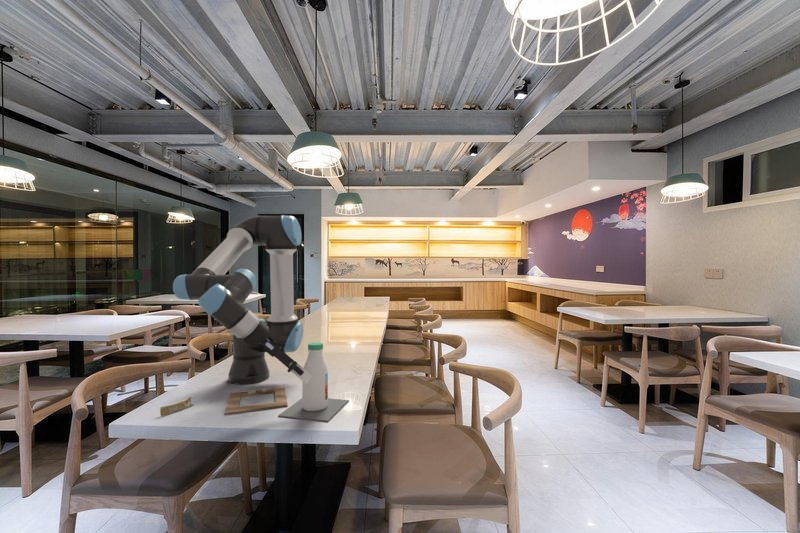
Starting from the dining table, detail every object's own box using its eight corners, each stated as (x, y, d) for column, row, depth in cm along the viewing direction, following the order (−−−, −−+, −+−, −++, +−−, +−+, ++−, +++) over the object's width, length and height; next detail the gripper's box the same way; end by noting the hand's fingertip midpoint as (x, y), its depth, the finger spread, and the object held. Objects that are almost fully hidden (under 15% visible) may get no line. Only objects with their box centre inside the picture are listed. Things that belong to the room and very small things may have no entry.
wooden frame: (230, 394, 123) (230, 392, 123) (284, 388, 130) (284, 386, 130) (224, 414, 106) (224, 412, 107) (287, 406, 113) (287, 403, 113)
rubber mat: (304, 397, 121) (304, 396, 121) (348, 401, 117) (348, 400, 117) (278, 416, 105) (278, 415, 105) (328, 421, 101) (328, 420, 101)
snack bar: (161, 417, 105) (161, 407, 105) (158, 416, 106) (158, 406, 106) (193, 406, 114) (193, 397, 114) (190, 405, 114) (190, 396, 114)
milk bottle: (321, 413, 106) (322, 346, 107) (297, 411, 108) (298, 345, 108) (331, 403, 114) (331, 341, 114) (309, 401, 116) (309, 340, 116)
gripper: (233, 332, 110) (282, 373, 118) (247, 348, 89) (306, 396, 97) (252, 314, 113) (298, 355, 121) (269, 325, 92) (324, 374, 99)
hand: (302, 374), depth 109 cm, fingers open, 13 cm apart
